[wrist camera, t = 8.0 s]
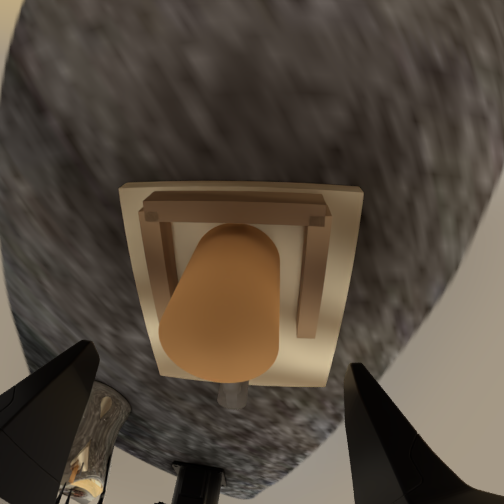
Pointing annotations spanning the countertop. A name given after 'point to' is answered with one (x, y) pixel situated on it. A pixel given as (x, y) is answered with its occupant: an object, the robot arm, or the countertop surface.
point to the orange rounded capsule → (226, 307)
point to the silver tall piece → (93, 447)
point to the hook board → (290, 252)
